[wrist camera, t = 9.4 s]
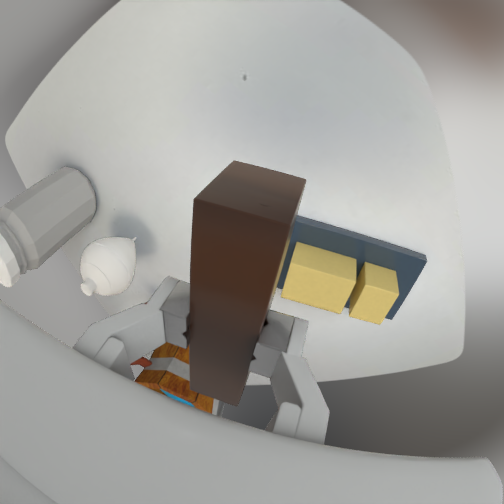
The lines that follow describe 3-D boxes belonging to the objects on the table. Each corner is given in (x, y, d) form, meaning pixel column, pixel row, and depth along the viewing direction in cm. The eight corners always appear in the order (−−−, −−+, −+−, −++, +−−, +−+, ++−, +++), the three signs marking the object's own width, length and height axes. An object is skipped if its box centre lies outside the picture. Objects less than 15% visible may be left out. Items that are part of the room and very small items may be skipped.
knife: (233, 159, 10) (192, 198, 7) (306, 179, 9) (290, 226, 7) (204, 415, 22) (191, 445, 20) (232, 425, 22) (221, 456, 20)
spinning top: (162, 229, 40) (110, 286, 30) (153, 267, 45) (110, 323, 35) (117, 205, 40) (60, 254, 30) (113, 244, 44) (65, 293, 35)
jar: (90, 161, 36) (-11, 228, 22) (107, 222, 42) (25, 300, 28) (51, 166, 39) (-36, 224, 25) (68, 219, 45) (-7, 285, 31)
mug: (266, 342, 47) (237, 425, 35) (220, 365, 55) (191, 432, 43) (166, 264, 43) (108, 340, 32) (135, 302, 51) (90, 365, 40)
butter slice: (364, 261, 33) (365, 284, 29) (396, 270, 32) (399, 294, 29) (350, 292, 36) (348, 316, 32) (379, 301, 35) (380, 325, 32)
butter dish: (294, 214, 33) (292, 219, 32) (425, 255, 31) (427, 261, 30) (277, 281, 39) (275, 287, 38) (391, 313, 37) (391, 319, 36)
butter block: (296, 241, 34) (290, 262, 31) (356, 258, 33) (356, 281, 30) (287, 274, 37) (280, 297, 34) (342, 290, 36) (340, 314, 33)
